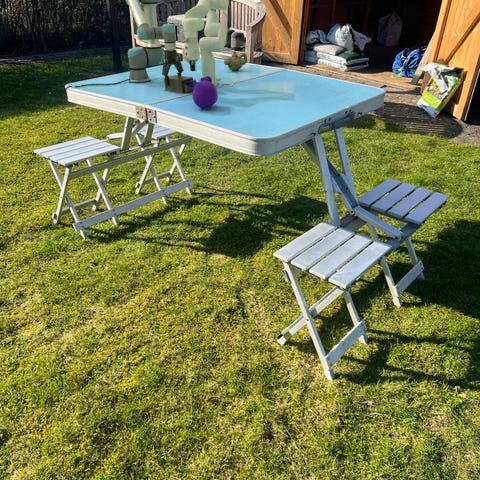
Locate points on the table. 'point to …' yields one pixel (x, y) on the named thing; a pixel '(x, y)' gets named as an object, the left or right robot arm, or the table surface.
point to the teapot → (235, 61)
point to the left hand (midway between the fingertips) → (173, 84)
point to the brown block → (176, 83)
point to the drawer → (187, 88)
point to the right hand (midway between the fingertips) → (193, 70)
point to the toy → (203, 92)
